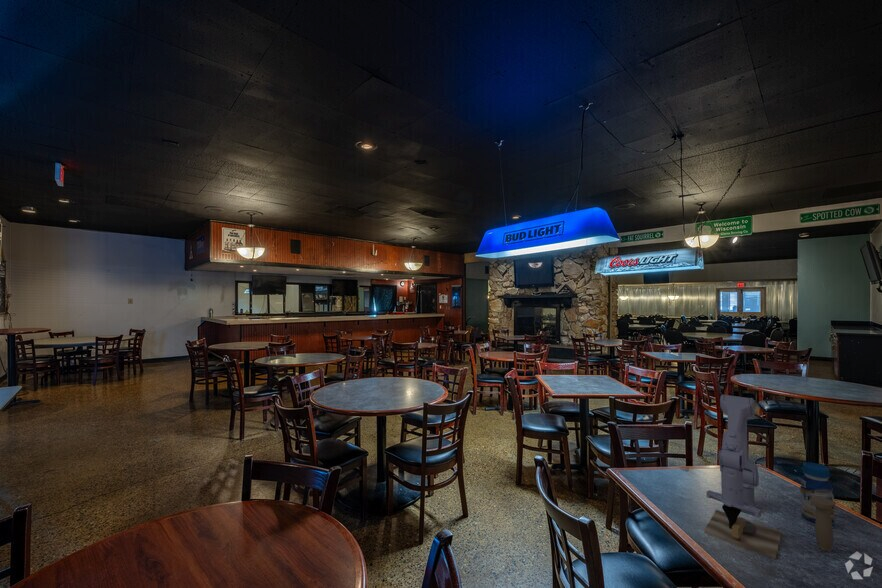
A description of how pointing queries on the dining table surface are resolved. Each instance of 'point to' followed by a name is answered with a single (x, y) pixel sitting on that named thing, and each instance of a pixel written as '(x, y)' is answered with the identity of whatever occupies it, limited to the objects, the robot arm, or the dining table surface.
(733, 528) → the lever with round base
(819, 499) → the handle
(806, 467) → the beverage bottle
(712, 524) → the post board
